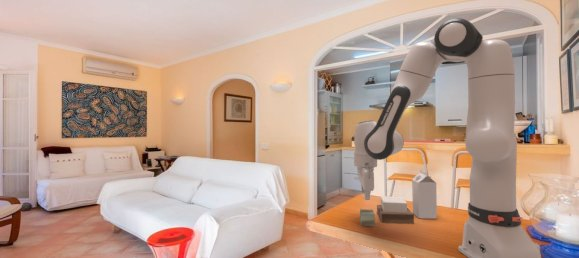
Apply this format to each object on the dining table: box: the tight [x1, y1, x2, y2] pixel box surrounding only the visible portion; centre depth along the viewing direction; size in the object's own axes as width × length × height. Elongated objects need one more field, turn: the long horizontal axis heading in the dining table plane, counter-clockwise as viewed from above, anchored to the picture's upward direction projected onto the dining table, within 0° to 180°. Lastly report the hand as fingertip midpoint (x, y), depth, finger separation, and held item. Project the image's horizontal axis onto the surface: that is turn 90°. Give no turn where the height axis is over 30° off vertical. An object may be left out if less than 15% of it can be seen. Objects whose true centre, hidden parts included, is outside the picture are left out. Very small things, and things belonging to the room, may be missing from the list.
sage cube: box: [359, 208, 376, 227], centre depth 104 cm, size 5×5×5 cm
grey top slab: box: [380, 195, 408, 213], centre depth 110 cm, size 9×9×4 cm
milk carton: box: [411, 169, 438, 220], centre depth 111 cm, size 7×7×19 cm
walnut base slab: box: [376, 204, 415, 225], centre depth 110 cm, size 12×12×4 cm
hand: (365, 196), depth 104 cm, fingers open, 8 cm apart
